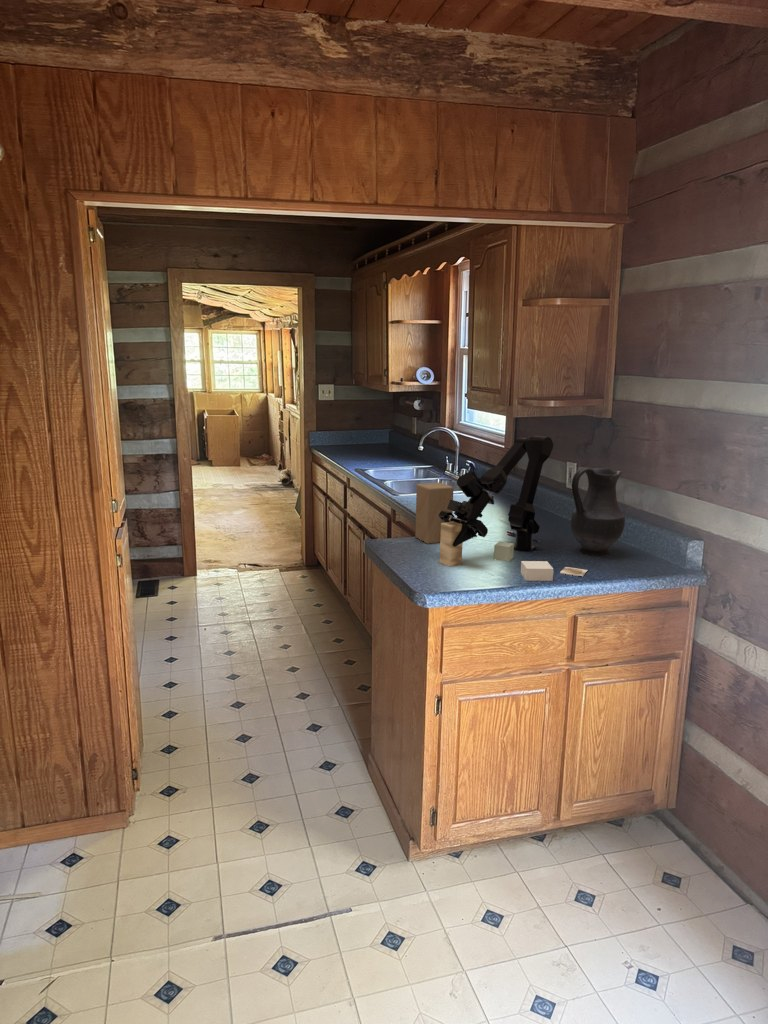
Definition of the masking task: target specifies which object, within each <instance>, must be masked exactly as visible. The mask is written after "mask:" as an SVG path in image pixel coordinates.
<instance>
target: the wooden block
mask: <svg viewBox="0 0 768 1024" xmlns="http://www.w3.org/2000/svg"><path fill="white" fill-rule="evenodd" d="M415 498H416V499H415V501H416V502H415V503H416V504H415V534H414V535H415V539H417V538H420V539H421V540H422V541H421V540H420V541H421V542H423V541H424V542H423V543H425V544H426V545H428V544H430V543H431V544H440V538H441V523H444V522H443V521H442V520H441V519H440V517H439V516H438V515H439V513H440V512H441V511H444V510H445V511H448V512H451V513H452V514H453V515H454V511H452V510H450V509H449V510H448V509H447V507H448V504H449V501H450V500H454V486H452V485H448V484H446V483H442V482H429V483H417V484H416V497H415Z"/></svg>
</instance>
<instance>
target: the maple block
mask: <svg viewBox="0 0 768 1024" xmlns="http://www.w3.org/2000/svg"><path fill="white" fill-rule="evenodd" d="M461 529H462V524H460V523H457V522H453V521H452V522H446V523H441V538H440V543H439V545H440V546H439V563H440V564H442V565H445V566H448V567H454V566H459V565H462V564H463V546H464V545H463V543H464V542H463V543H461V544H459V545H457V546H456V547H454V546H453V543H454V541H455V539H456V538H457V536H458V535H459V533H460V532H461Z"/></svg>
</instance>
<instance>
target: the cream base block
mask: <svg viewBox="0 0 768 1024" xmlns="http://www.w3.org/2000/svg"><path fill="white" fill-rule="evenodd" d="M520 574H521V576H522V577H523V579H524V581H526V582H527V581H528V582H531V581H532V582H534V581H535V582H540V581H542V582H553V581H554V568H553V566H552V565H551V564H550V563H549V561H547V560H545V561H541V560H540V561H539V560H537V561H536V560H532V561H531V560H521V561H520Z"/></svg>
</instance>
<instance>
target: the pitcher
mask: <svg viewBox="0 0 768 1024" xmlns="http://www.w3.org/2000/svg"><path fill="white" fill-rule="evenodd" d="M584 474H586V476H587V482H588V488H587V491H586V492H585V495H584V496H583V499H582V498H581V494H580V490H579V485H580V484H579V482H580V479H581V477H582V476H583V475H584ZM622 474H623V473H622V471H621V470H614V469H611V468H606V467H598V468H597V467H594V468H592V467H587V466H586V467H585V466H584V467H581V468H579V469H578V470H577V471H575V473H574V475H573V477H572V480H571V492H572V498H573V501H574V505H575V508H574V509H573V510H572V512H571V517H570V528H571V532H572V534H573V537H574V538H575V540H576V541H577V542H578V543H579V545H581V548H580V549H579V552H580V553H581V554H582V553H583V555H585V554H587V555H586V556H588V555H593V556H592V557H597V556H602V557H607V556H609V555H610V553H611V552H610V551H609V548H610V547H611V546H613V545H614V544H615V543H616V542H617V541H618V540H620V538H621V536H622V534H623V532H624V530H625V523H626V516H625V514H624V513H623V512H622V511H621V508H620V507H619V503H618V498H617V483H618V480H619V479H620V476H621V475H622ZM606 555H607V556H606Z"/></svg>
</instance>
